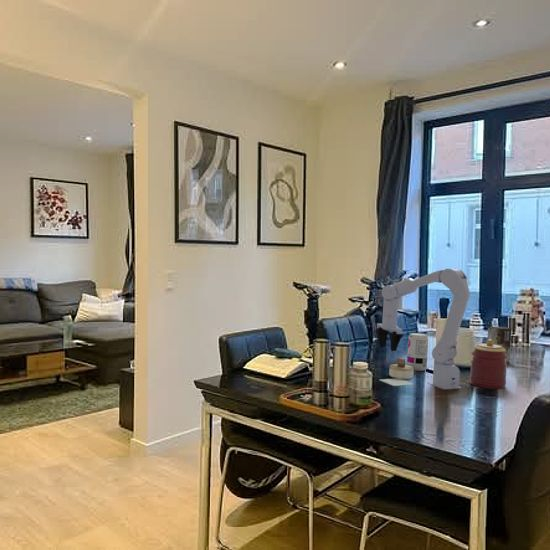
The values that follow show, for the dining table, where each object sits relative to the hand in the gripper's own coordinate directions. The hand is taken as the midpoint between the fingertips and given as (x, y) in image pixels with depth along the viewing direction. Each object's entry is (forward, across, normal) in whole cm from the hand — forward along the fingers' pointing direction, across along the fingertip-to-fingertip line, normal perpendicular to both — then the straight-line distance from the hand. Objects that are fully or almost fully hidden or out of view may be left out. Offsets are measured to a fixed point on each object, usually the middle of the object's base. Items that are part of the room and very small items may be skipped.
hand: (387, 348), depth 211 cm
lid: (+7, -4, -4) cm, 9 cm away
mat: (+10, -12, +4) cm, 16 cm away
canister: (+10, -23, -30) cm, 39 cm away
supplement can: (+11, +7, -20) cm, 24 cm away
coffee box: (+11, +14, -73) cm, 75 cm away
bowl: (+11, -4, -4) cm, 12 cm away
